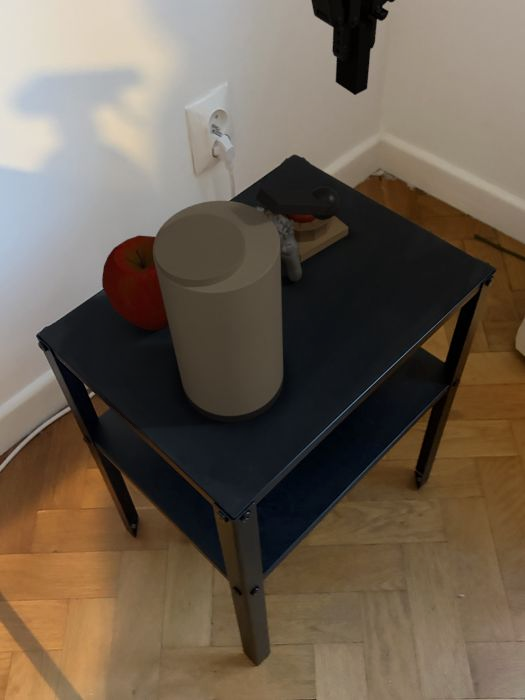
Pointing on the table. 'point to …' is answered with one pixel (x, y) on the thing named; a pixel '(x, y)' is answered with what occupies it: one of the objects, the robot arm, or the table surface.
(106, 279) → the apple
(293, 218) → the button
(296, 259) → the grey toy figure
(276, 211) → the switch
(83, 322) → the table surface
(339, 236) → the button base
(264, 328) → the beige cylinder
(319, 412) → the table surface
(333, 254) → the table surface
